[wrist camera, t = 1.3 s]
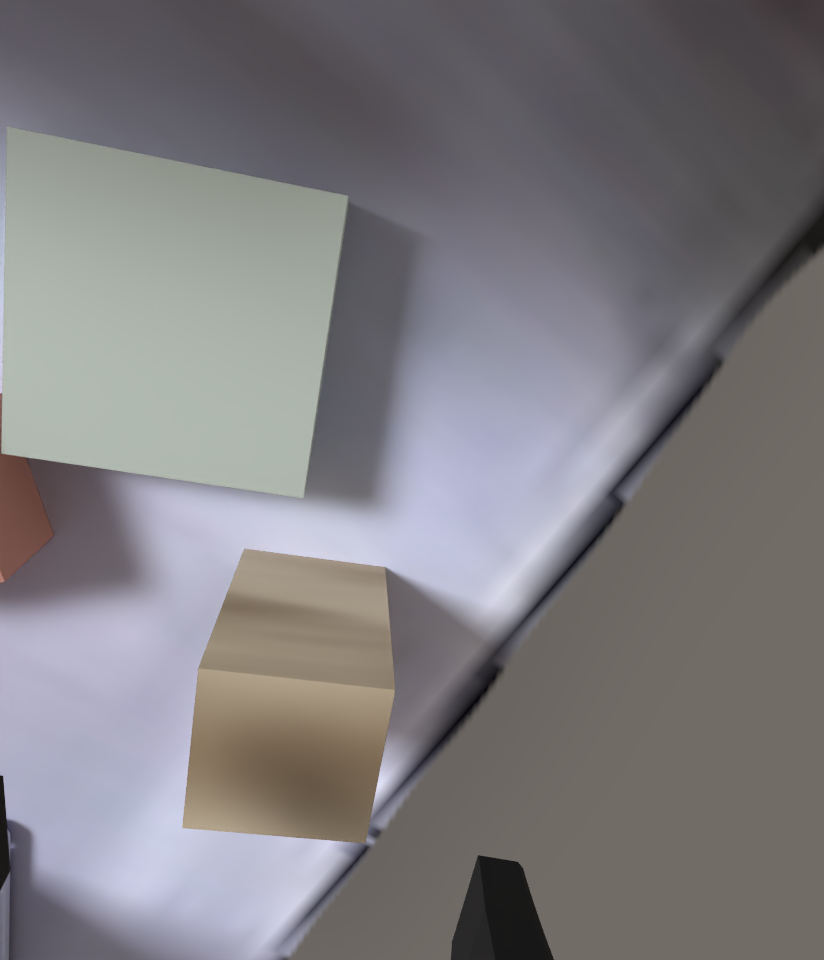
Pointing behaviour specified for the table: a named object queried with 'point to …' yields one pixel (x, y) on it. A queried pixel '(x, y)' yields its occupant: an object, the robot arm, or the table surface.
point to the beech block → (293, 701)
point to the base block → (164, 315)
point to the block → (19, 513)
